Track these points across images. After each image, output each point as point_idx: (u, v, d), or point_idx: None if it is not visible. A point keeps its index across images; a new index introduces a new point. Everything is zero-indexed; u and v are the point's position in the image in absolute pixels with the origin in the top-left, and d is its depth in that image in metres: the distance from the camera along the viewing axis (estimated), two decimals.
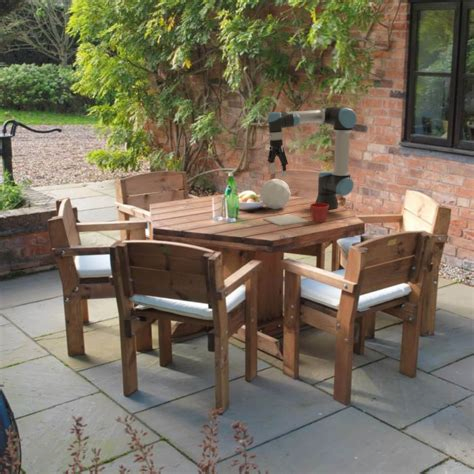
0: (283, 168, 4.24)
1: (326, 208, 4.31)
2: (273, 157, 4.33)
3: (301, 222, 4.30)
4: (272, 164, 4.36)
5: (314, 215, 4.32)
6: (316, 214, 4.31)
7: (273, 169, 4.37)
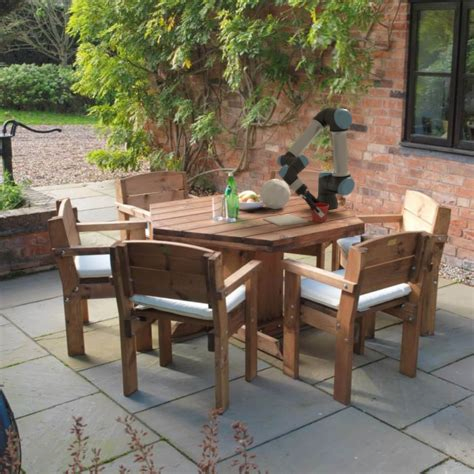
0: (316, 211, 4.29)
1: (326, 208, 4.31)
2: (312, 200, 4.38)
3: (301, 222, 4.30)
4: None
5: (314, 215, 4.32)
6: (316, 214, 4.31)
7: None
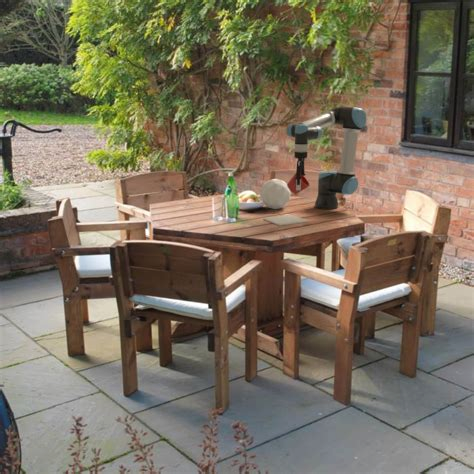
0: (297, 182, 4.23)
1: (306, 186, 4.27)
2: (301, 169, 4.31)
3: (301, 222, 4.30)
4: None
5: (292, 183, 4.27)
6: (294, 184, 4.26)
7: None
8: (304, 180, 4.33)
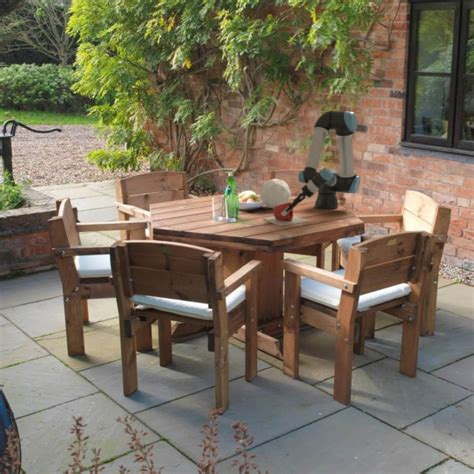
0: (287, 208, 4.25)
1: None
2: None
3: (301, 222, 4.30)
4: None
5: (279, 211, 4.29)
6: None
7: None
8: None
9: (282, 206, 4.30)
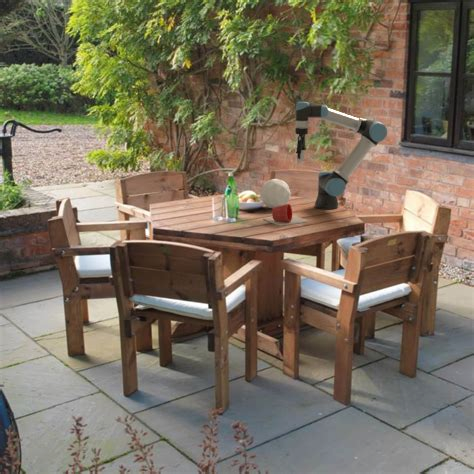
0: (297, 156, 4.41)
1: None
2: (301, 144, 4.51)
3: (301, 222, 4.30)
4: (302, 151, 4.54)
5: (278, 218, 4.27)
6: (280, 219, 4.28)
7: (302, 156, 4.55)
8: (288, 206, 4.32)
9: (280, 213, 4.25)
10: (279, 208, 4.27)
